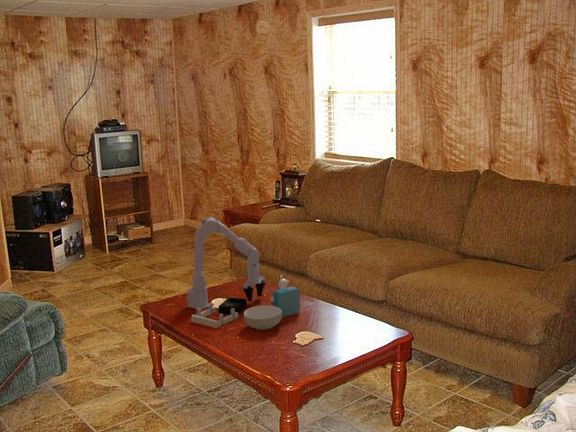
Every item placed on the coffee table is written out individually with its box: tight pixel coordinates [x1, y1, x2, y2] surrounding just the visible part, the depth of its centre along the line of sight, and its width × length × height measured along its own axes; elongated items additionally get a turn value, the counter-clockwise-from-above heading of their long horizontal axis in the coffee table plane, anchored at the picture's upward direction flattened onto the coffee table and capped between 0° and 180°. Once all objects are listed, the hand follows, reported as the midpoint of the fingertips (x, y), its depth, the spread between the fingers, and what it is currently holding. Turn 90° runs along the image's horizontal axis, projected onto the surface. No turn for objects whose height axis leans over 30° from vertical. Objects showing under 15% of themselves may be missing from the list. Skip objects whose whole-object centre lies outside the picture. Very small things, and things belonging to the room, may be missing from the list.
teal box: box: [272, 286, 301, 319], centre depth 295 cm, size 12×4×12 cm, turn 125°
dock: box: [191, 302, 239, 329], centre depth 291 cm, size 16×15×5 cm
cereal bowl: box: [243, 305, 283, 331], centre depth 281 cm, size 17×17×7 cm
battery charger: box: [217, 297, 248, 315], centre depth 303 cm, size 13×10×4 cm
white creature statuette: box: [270, 278, 290, 304], centre depth 312 cm, size 10×9×12 cm
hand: (254, 298), depth 314 cm, fingers open, 7 cm apart
